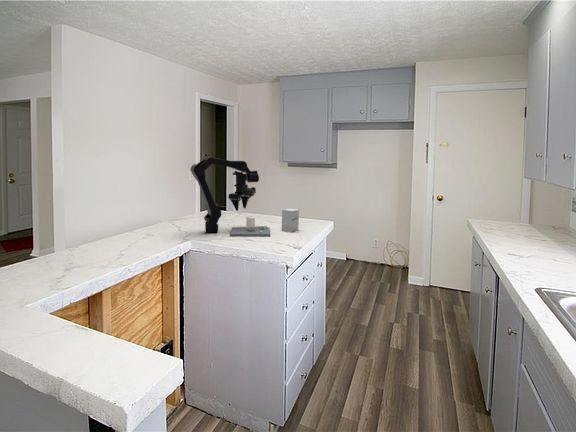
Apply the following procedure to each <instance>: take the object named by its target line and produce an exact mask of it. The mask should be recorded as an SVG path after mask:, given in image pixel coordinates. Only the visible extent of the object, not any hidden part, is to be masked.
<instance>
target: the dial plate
mask: <svg viewBox="0 0 576 432" xmlns="http://www.w3.org/2000/svg"><path fill="white" fill-rule="evenodd" d="M259 226H262V225H259ZM229 237H231V238H232V237H233V238H234V237H237V238H238V237H243V238H244V237H249V238H250V237H252V238H253V237H255V238H257V237H260V238H261V237H262V238H263V237H267V238H268V237H271V227H269V226H267V227H254V231H247V226H234V227H231V230H230V232H229Z"/></svg>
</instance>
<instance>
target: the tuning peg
mask: <svg viewBox="0 0 576 432" xmlns="http://www.w3.org/2000/svg"><path fill="white" fill-rule="evenodd" d="M245 219H246V221H245V222H246V227H247V231H254V227H268V225H267V224H265V225H262V226H260V225H256V218H255V217H253V216H252V215H250V216H246V218H245Z"/></svg>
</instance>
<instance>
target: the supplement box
mask: <svg viewBox="0 0 576 432" xmlns="http://www.w3.org/2000/svg"><path fill="white" fill-rule="evenodd" d="M299 218H300V209H296V208H285V209H284V208H283V209H281V231H283V232H286V233H287V232H288V233H292V232H296V231H297V232H298V231H299Z"/></svg>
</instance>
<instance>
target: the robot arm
mask: <svg viewBox="0 0 576 432" xmlns="http://www.w3.org/2000/svg"><path fill="white" fill-rule="evenodd" d="M211 165H215V166H219V167H220V166H221V167H227V168H230V169H233V170H234V171H233V172H232V176H235V184H234V185H233V186H234V187H235V191H234V192H232V193H228V197H227V198H228V199H229V200H230V201H231V203H232V205H233V207H234V209H235V211H236V212H237V211H239V206H240V202H242V203H241V204H242V207H243V209H246V208H247V205H248V201H249V199H251V198H252V197H254V196H255V194H256V193H257V191H256V187H254V186H252V187H249V186H248V184H247V183H258V182H259V181H260V176H259V172H258V170H250V168H249V167H248V163H247V162H246V161H244V160H228V159H221V158H217V157H212V156H206V157H205V158H204V159H202V160H200V161H199V162H198V163H194V164H193V165H191V167H190V172H191V174H192V176H193V177H194V178H195V180H196V182H197V183H198V186H199V189H200V191H201V193H202V196H203V199H204V202H205V204H206V211H207V213H206V214H205V216H204V217H203V219H204V221H205V222H204V225H205V226H204V227H205V230H204V231H205V232H204V234H212V235H213V234H215V235H216V234H217V233H218V232H219V221H220V220H219V219H221V217H222V212H223V211H222V210H221V207H220V204H217V203H215V201H214V198H213V196H212V193H211V190H210V187H209V185H208V183H207V179H206V170H207V169H208V168H210V166H211Z"/></svg>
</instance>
